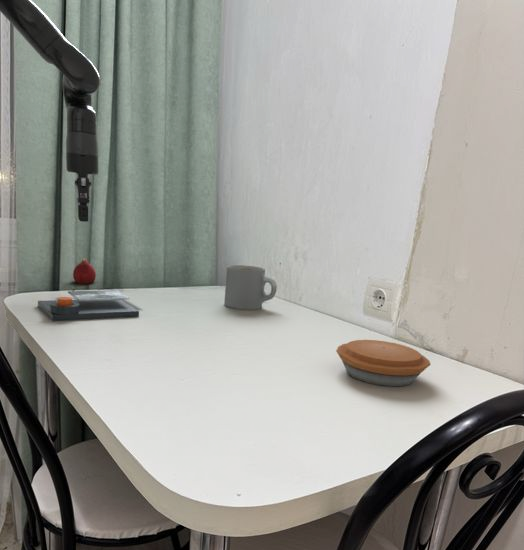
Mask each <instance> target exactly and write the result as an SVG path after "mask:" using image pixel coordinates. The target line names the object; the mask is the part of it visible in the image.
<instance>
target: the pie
mask: <svg viewBox="0 0 524 550" xmlns="http://www.w3.org/2000/svg"><path fill="white" fill-rule="evenodd" d="M335 351H336V353H337V355H338V356H339V359H340V360H341V362H342V364H343V366H344V369H345V371H346V372H347V374H348V375H349V376H350V377H353V378H354V379H356V380H358V381H362V382H364V383H367V384H371V385H376V386H382V387H383V386H384V387H404V386H407V385H411V384H412V383H413V382H414V381H415V380H416V379H417V378H418V377H419V376H420V375H421V374H422V373H423V372H424V371H425V370H427V368H429V367H430V366H431V362H430V359H428V358H427V357H426V356H424V354H423V355H422V353H420V352H419V351H418V350H416V349H414V348H412V347H410V346H408V345H407V346H406V345H404V344H400V343H396V342H391V341H385V340H377V339H356V340H351V341H349V342H347V343H342V344H341V345H339V346H337V348H336V350H335Z"/></svg>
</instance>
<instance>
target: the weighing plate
mask: <svg viewBox="0 0 524 550" xmlns="http://www.w3.org/2000/svg"><path fill="white" fill-rule="evenodd" d="M67 293H68V294H69V295H70V296H71V297H73V298H74V299H75V300H79V301H91V300H121V301H123V300H129V299H130V297H128V296H127V295H125V294H123V293H121V292H120V291H118V290H115V289H112V290H111V289H108V290H105V289H104V290H68V291H67Z"/></svg>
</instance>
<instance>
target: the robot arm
mask: <svg viewBox="0 0 524 550" xmlns="http://www.w3.org/2000/svg"><path fill="white" fill-rule="evenodd" d="M0 13H1V15H3V16H4V17H5V18H6V19H7V20H8V21H9V24H11V25H12V26H13V27H14V28H15V29H16V31H17V32H18V33H19V34H20V35H21V36H22V37H23V38H24V40H25V41H26V42H27V43H28V44H29V46H31V48H33V50H34V51H35V52H36V53H37V54H38V55H39V57H40V58H41V59H43V60H44V61H45V62H46V63H48V64H50V65H53V66H54V67H55V68H57V70H59V71H60V73H62V92H63V99H64V105H65V110H66V137H65V161H66V165H65V167H66V168H65V169H66V171H67V172H68V173H74V174H77V178H76V180H74V181H73V184H74V185H73V186H74V189H75V198H76V203H77V213H78V214H77V217H78V220H79V222H83V223H85V222H86V223H87V222H89V206H90V203H91V201H90V199H91V195H92V193H91V190H92V181H90V178H89V175H98V174H99V141H98V117H97V113H96V111H95V109H93V97H92V96H93V95H94V94H95V93H97V91H99V89H100V86H101V77H100V74H99V71H98V70H97V68H96V67H95V65H94V64H93V63H92V61H91V60H90V59H89V58H87V56H85V54H83V53H82V52H81V51H80V50H79V48H76V46H75V45H73V44H72V43H71V42H69V40H67V38H66V37H65V36H64V35H63V33H62V32H61V30H59V29H58V28H57V26H56V25H55V23H53V21H52V20H51V19H50V18H49V17H48V15H46V13H45V12H43V10H42V9H41V8H40V7H39V6H38V5H37V4H36V3H34V2H33V1H32V0H0Z"/></svg>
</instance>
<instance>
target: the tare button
mask: <svg viewBox="0 0 524 550" xmlns="http://www.w3.org/2000/svg"><path fill="white" fill-rule="evenodd" d="M56 300H57V304H58V305H60V306H70V305H72V300H73V298H72V297H69V296H59V297H57V298H56Z"/></svg>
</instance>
